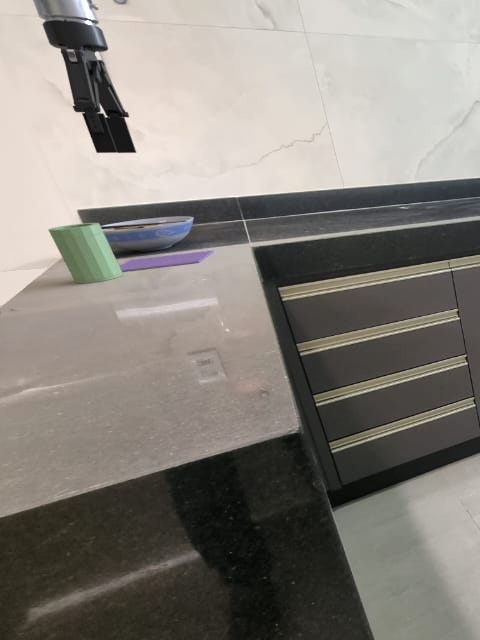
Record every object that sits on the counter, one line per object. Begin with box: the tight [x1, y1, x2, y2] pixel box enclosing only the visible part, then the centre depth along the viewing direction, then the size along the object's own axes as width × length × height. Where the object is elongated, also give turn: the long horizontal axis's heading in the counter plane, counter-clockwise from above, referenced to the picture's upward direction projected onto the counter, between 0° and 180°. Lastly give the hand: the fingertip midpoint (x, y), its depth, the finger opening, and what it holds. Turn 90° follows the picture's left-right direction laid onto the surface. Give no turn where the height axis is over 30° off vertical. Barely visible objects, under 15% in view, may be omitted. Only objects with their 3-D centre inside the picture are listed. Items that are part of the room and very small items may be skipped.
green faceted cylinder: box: [48, 222, 124, 284], centre depth 120 cm, size 8×8×12 cm
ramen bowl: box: [100, 215, 194, 253], centre depth 151 cm, size 25×23×8 cm
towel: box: [119, 250, 214, 273], centre depth 136 cm, size 18×14×1 cm
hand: (117, 153), depth 101 cm, fingers open, 13 cm apart
